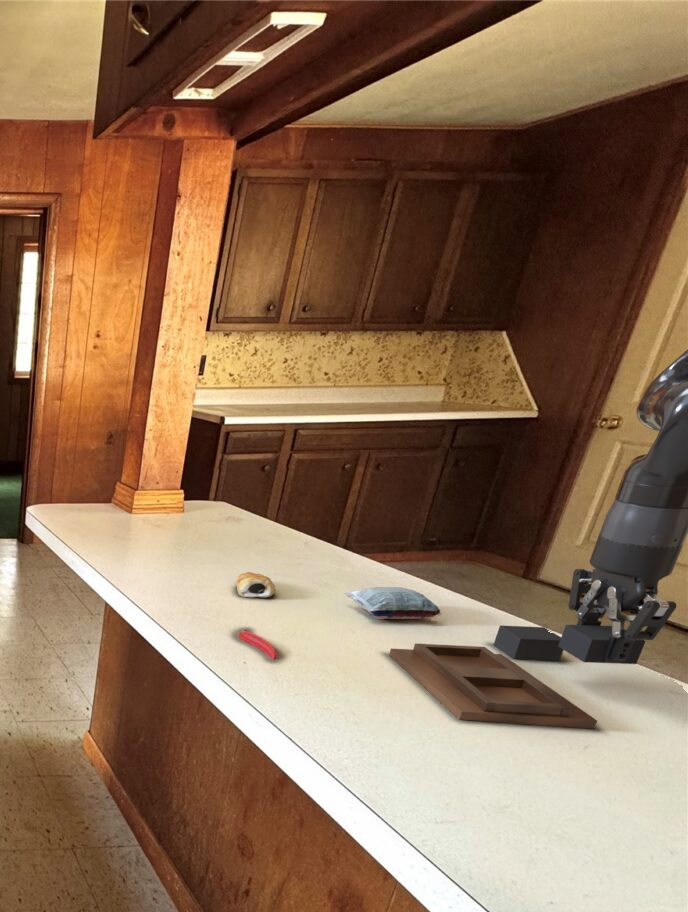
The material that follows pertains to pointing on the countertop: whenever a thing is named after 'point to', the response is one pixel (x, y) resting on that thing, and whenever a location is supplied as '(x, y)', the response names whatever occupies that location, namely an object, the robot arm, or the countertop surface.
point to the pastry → (254, 585)
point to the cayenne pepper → (258, 643)
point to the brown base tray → (487, 686)
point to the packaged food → (394, 603)
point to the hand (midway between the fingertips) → (596, 652)
